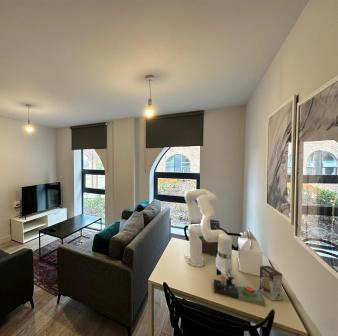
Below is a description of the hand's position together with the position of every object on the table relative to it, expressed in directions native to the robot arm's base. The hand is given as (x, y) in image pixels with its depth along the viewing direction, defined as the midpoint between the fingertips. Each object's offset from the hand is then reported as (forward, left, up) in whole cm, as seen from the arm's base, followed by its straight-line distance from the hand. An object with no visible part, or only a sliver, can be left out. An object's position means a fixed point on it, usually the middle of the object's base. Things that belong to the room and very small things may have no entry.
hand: (223, 279), depth 121 cm
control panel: (0, -1, -7) cm, 7 cm away
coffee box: (+25, +6, -7) cm, 27 cm away
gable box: (+20, +37, -7) cm, 43 cm away
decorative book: (-11, +48, -7) cm, 50 cm away
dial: (0, -1, -4) cm, 4 cm away
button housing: (+13, -1, -7) cm, 15 cm away
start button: (+13, -1, -3) cm, 14 cm away
